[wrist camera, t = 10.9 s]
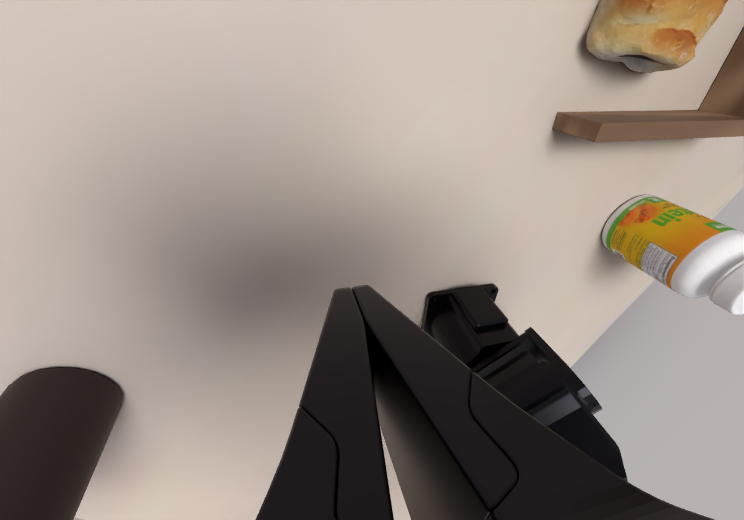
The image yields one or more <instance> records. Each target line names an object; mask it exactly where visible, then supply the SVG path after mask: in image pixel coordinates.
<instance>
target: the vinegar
mask: <svg viewBox="0 0 744 520" xmlns="http://www.w3.org/2000/svg"><path fill="white" fill-rule="evenodd" d="M121 406H122V393H121V391H120V390H119V388H118V386H117V385H116V384H114V383H113V382H112V381H110V380H109V379H107V378H106V377H104V376H101V375H99V374H97V373H94V372H91V371H86V370H81V369H76V368H52V369H44V370H37V371H34V372H32V373H29V374H26V375H23V376H21V377H20V378H18V379H17V380H16V381H14V382H13V383H12V384H10V385H9V386H8V387H7V388H6V390H5V391H4V392H3V394H2V395H1V396H0V520H73V519H74V517H75V514H76V512H77V510H78V507H79V505H80V503H81V500H82V498H83V496H84V493H85V491H86V489H87V486H88V484H89V481H90V479H91V477H92V474H93V472H94V470H95V467H96V465H97V463H98V460H99V458H100V456H101V453H102V451H103V449H104V446H105V444H106V442H107V439H108V437H109V435H110V432H111V430H112V428H113V425H114V423H115V421H116V418H117V416H118V413H119V411H120V409H121Z"/></svg>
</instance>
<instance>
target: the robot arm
mask: <svg viewBox="0 0 744 520" xmlns="http://www.w3.org/2000/svg"><path fill="white" fill-rule="evenodd" d="M497 293H498V288H497V287H496V285H494V284H490V285H483V286H476V287H469V288H461V289H454V290H447V291H440V292H433V293H430V294H429V295H428V296H427V300H426V306H425V313H424V319H423V325H422V329H421V328H420V327H419V326H417V325H416V324H415V323H414V322H413V321H411V320H410V319H409V318H408V317H407V316H405V315H404V314H403V313H402V312H400V311H399V310H398V309H397V308H396V307H394V306H393V305H392V304H391V303H390V302H388V301H387V300H386V299H385V298H383V297H382V296H381V295H380V294H379V293H377V292H376V291H375V290H374V289H373V288H371V287H370V286H368V285H363V286H356V287H353V288H352V289H351V288H349V287H348V288H340V289H336V290H335V291H334V293H333V296H332V299H331V303H330V306H329V309H328V312H327V316H326V319H325V322H324V325H323V329H322V332H321V335H320V339H319V342H318V345H317V348H316V352H315V355H314V358H313V361H312V365H311V368H310V371H309V375H308V378H307V381H306V384H305V388H304V391H303V394H302V397H301V401H300V404H299V409H298V410H297V413H296V416H295V420H294V423H293V426H292V429H291V432H290V435H289V438H288V441H287V444H286V447H285V450H284V452H283V455H282V458H281V461H280V463H279V466H278V468H277V470H276V473H275V475H274V478H273V480H272V483H271V485H270V488H269V490H268V493H267V495H266V497H265V499H264V502H263V504H262V506H261V509H260V511H259V513H258V515H257V518H256V520H394V519H393V512H392V505H391V498H390V492H389V485H388V478H387V471H386V465H385V458H384V451H383V444H382V438H381V431H380V427H381V430H382V433H383V436H384V439H385V442H386V445H387V448H388V451H389V454H390V457H391V460H392V463H393V466H394V469H395V472H396V475H397V478H398V481H399V484H400V487H401V490H402V493H403V496H404V499H405V502H406V505H407V508H408V511H409V514H410V517H411V520H714V519H711V518H708V517H705V516H702V515H699V514H696V513H693V512H691V511H688V510H685V509H682V508H679V507H677V506H674V505H672V504H669V503H667V502H665V501H662V500H660V499H658V498H656V497H654V496H652V495H650V494H648V493H646V492H644V491H642V490H640V489H639V488H637V487H635V486H633V485H632V484H630V483H628V482H627V476H626V472H625V469H624V466H623V461H622V457H621V453H620V450H619V447H618V446H617V444H616V443H615V441H614V440H613V439H612V438H611V437H610V435H609V434H608V433H607V432H606V430H605V429H604V428H603V427H602V425H601V424H600V423H599V422H598V421H597V419H596V418H595V417H594V416H593V414H595V413H596V412H598V411H600V410H602V407H601V406H600V404H599V403H598V401H597V400H596V399H595V397H594V396H593V395H592V394H591V392H590V391H589V390H588V389H587V387H586V386H585V385H584V384H583V383H582V381H581V380H580V379H579V378H578V377H577V376H576V374H575V373H574V372H573V371H572V370H571V369H570V368H569V366H568V365H567V364H566V363H565V362H564V361H563V360H562V359H561V358H560V357H559V356H558V355H557V354H556V353H555V352H554V351H553V350H552V349H551V347H550V346H549V345H548V344H547V343H546V342H545V341H544V340H543V339H542V338H541V337H540V336H539V335H538V334H537V333H536V332H535V331H534V330H533V329H532V328H531V327H530V328H528V329H527V330H525V333H523V334H522V335H520V336H519V335H518V334H517V333H516V332H515V330H514V329H513V328H512V327H511V326H510V324H509V323H508V319H507V317H506V316H505V315H504V314H503V312H502V311H501V310H500V309H499V308H498V306H497V305H496V304H495V303H494V302H495V299H496V296H497ZM433 298H434V299H433Z"/></svg>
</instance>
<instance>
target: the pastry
mask: <svg viewBox="0 0 744 520" xmlns="http://www.w3.org/2000/svg"><path fill="white" fill-rule="evenodd" d="M727 1H728V0H600V2H599V4H598V7H597V9H596V12H595V14H594V16H593V18H592V21H591V24H590V27H589V30H588V32H587V37H586V48H587V49H588V51H589V52H591V53H592V54H593V56H595V57H597V58H599V59H602V60H610V61H613V62H614V61H616V62H623V63H624V64H625V65H626V66H627V67H628V68H629V69H631V70H633V71H638V72H641V73H652V72H655V71H664V70H672V69H676V68H679V67H681V66H683V65H685V64H686V63H688V62H689V61H690V60H692V59H693V58H694V57H695V50H694V49H695V47H696V45H697V44H698V43H699V41H700V40H701V39H702V38H703V37H704V35H705V34H706V32H707V31H708V29H709V28H710V27H711V26H712V24H713V23H714V22H715V21H716V19H717V18H718V17H719V15H720V14H721V13H722V10H723V8H724V6H725V4H726V2H727Z"/></svg>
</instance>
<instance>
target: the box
mask: <svg viewBox="0 0 744 520" xmlns="http://www.w3.org/2000/svg"><path fill="white" fill-rule="evenodd" d="M553 129H555V130H558V131H562V132H565V133H568V134H571V135H574V136H577V137H580V138H584V139H587V140H590V141H593V142H608V141H634V140H659V139H685V138H710V137H735V136H744V28H743V30H742V32H741V34H740V35H739V37H738V39H737V41H736V43H735V44H734V46H733V48H732V50H731V52H730V54H729V55H728V57H727V59H726V61H725V63H724V65H723V66H722V68H721V70H720V72H719V74H718V75H717V77H716V79H715V81H714V83H713V85H712V86H711V88H710V90H709V92H708V94H707V96H706V97H705V99H704V101H703V103H702V105H701V106H700V108H699V110H676V111H609V112H558V114H557V117H556V120H555V123H554V126H553Z"/></svg>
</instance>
